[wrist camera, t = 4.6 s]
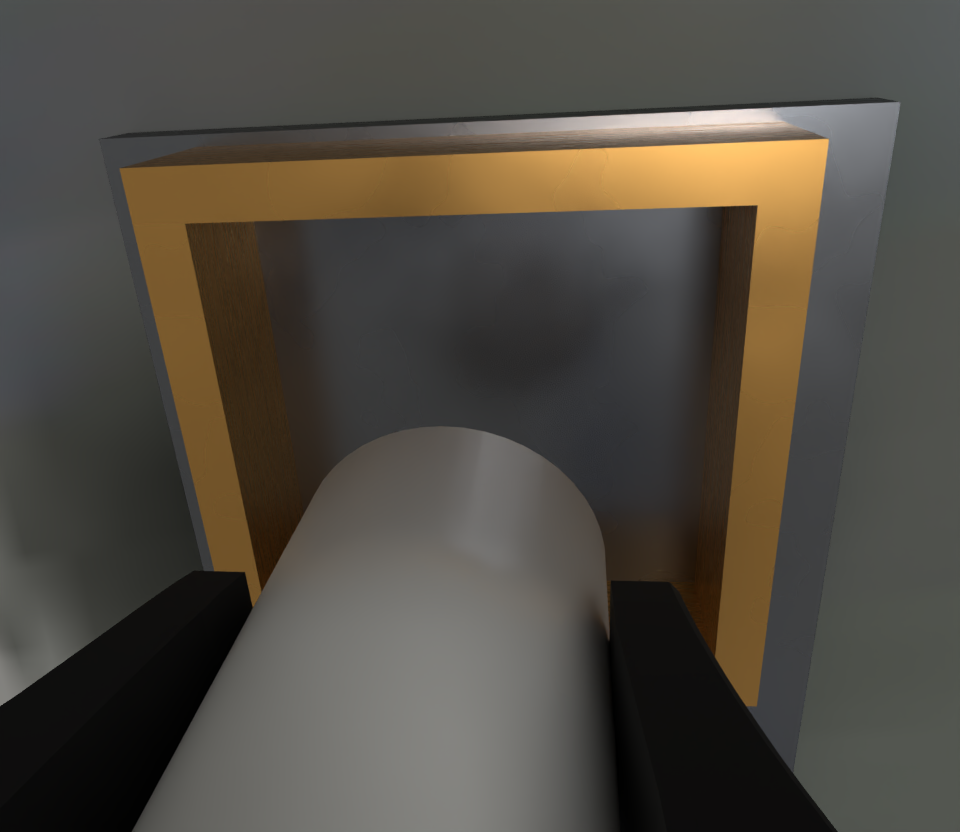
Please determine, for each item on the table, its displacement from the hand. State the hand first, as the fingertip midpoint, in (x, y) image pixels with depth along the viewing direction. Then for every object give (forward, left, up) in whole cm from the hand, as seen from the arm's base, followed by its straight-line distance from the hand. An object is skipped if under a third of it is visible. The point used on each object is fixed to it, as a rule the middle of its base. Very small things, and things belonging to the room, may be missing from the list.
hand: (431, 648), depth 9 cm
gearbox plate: (-5, 0, -8) cm, 9 cm away
